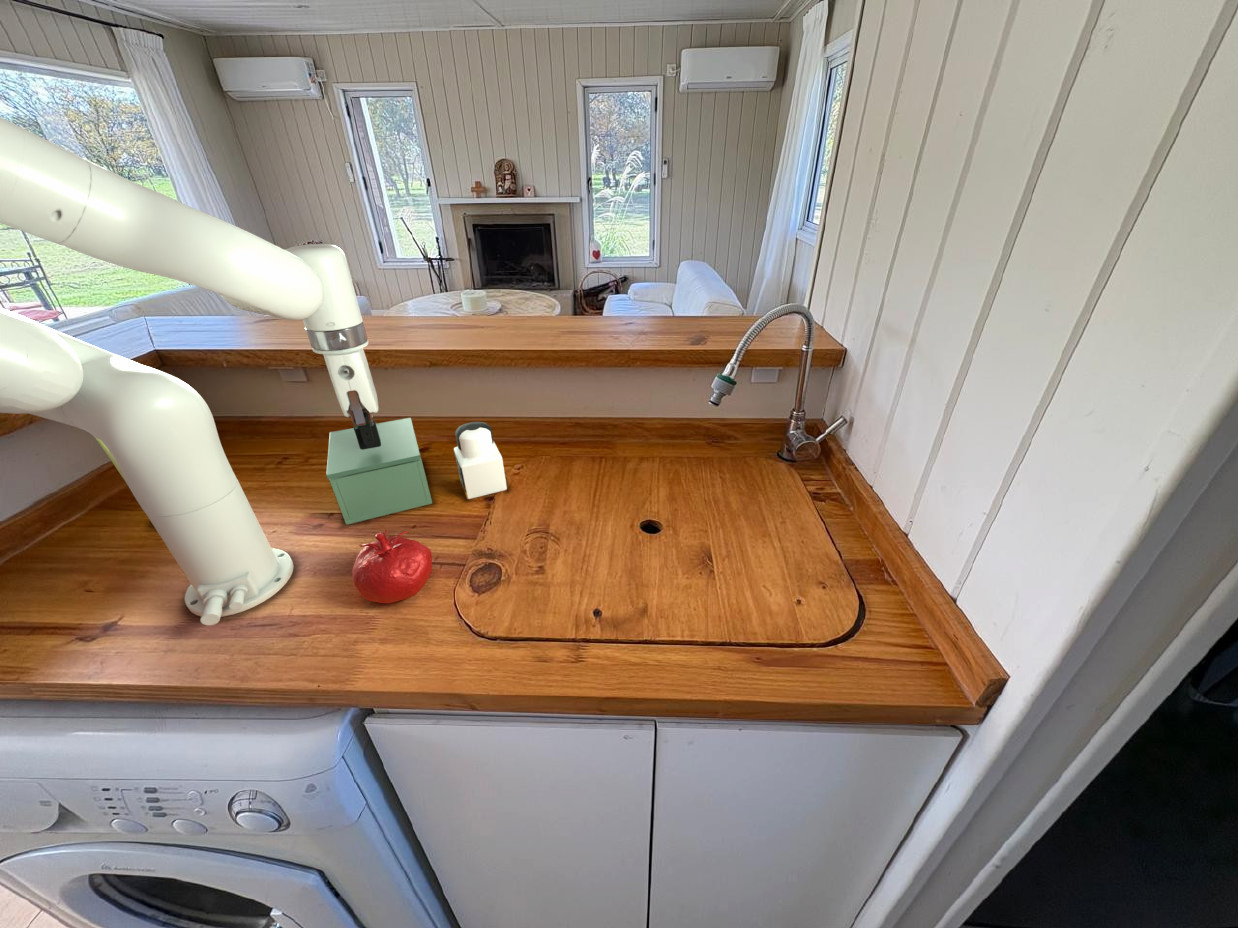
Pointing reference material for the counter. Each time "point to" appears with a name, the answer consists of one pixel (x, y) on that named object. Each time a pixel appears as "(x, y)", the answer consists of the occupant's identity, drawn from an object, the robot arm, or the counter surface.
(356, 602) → the counter surface
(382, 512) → the bin
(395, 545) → the pomegranate
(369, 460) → the lid
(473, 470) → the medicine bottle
